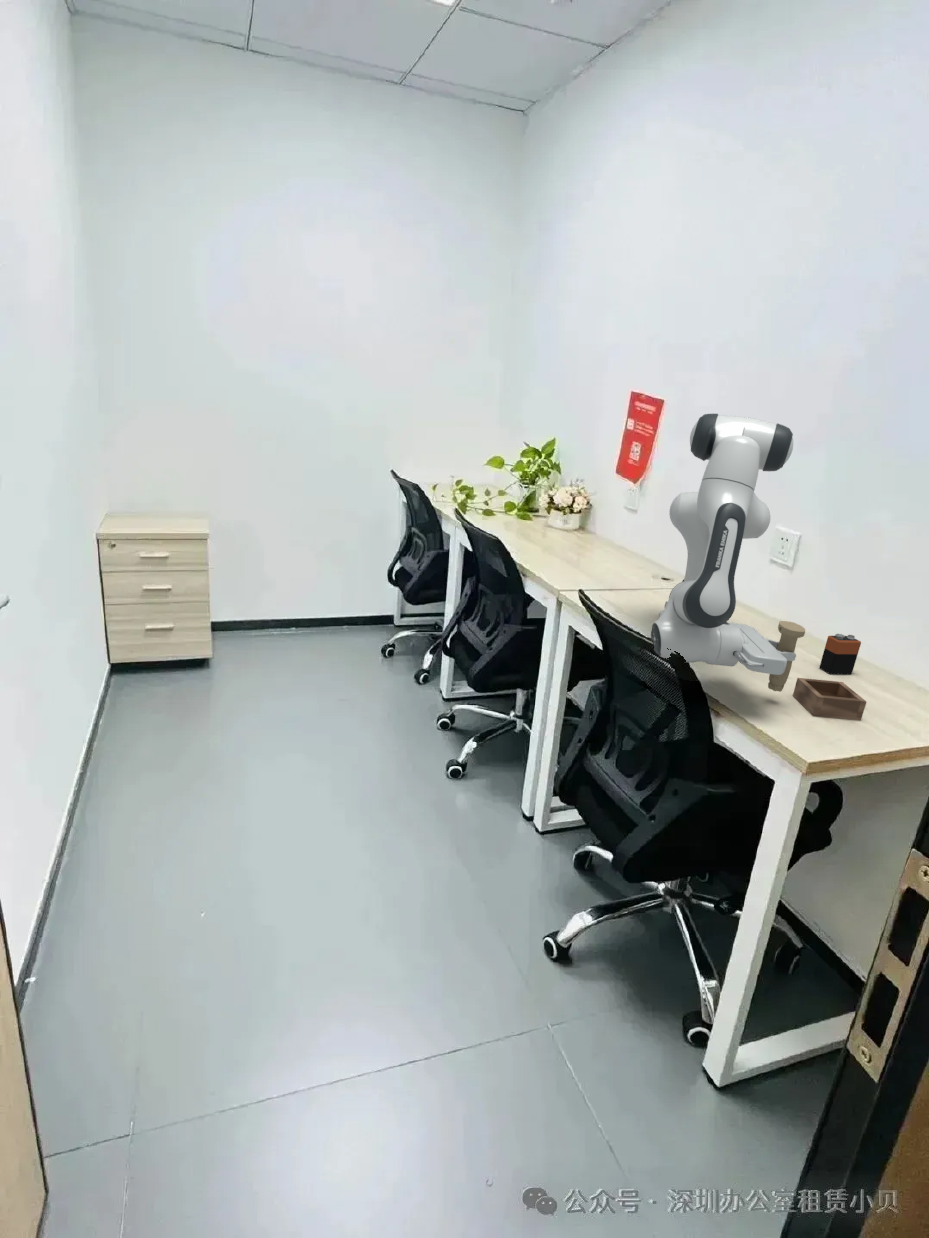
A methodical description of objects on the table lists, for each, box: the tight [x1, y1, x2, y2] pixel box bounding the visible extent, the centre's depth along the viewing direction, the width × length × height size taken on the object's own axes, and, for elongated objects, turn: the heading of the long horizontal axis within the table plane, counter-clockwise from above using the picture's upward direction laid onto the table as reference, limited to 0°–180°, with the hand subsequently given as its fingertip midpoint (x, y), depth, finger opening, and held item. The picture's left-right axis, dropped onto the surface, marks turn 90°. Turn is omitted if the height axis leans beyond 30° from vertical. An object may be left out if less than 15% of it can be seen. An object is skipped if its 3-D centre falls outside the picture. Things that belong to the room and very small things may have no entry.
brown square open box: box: [792, 677, 867, 721], centre depth 154 cm, size 10×10×4 cm
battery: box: [819, 633, 862, 675], centre depth 176 cm, size 4×7×10 cm, turn 102°
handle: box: [767, 620, 806, 693], centre depth 152 cm, size 5×6×15 cm
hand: (789, 651), depth 151 cm, fingers closed on handle, 4 cm apart
